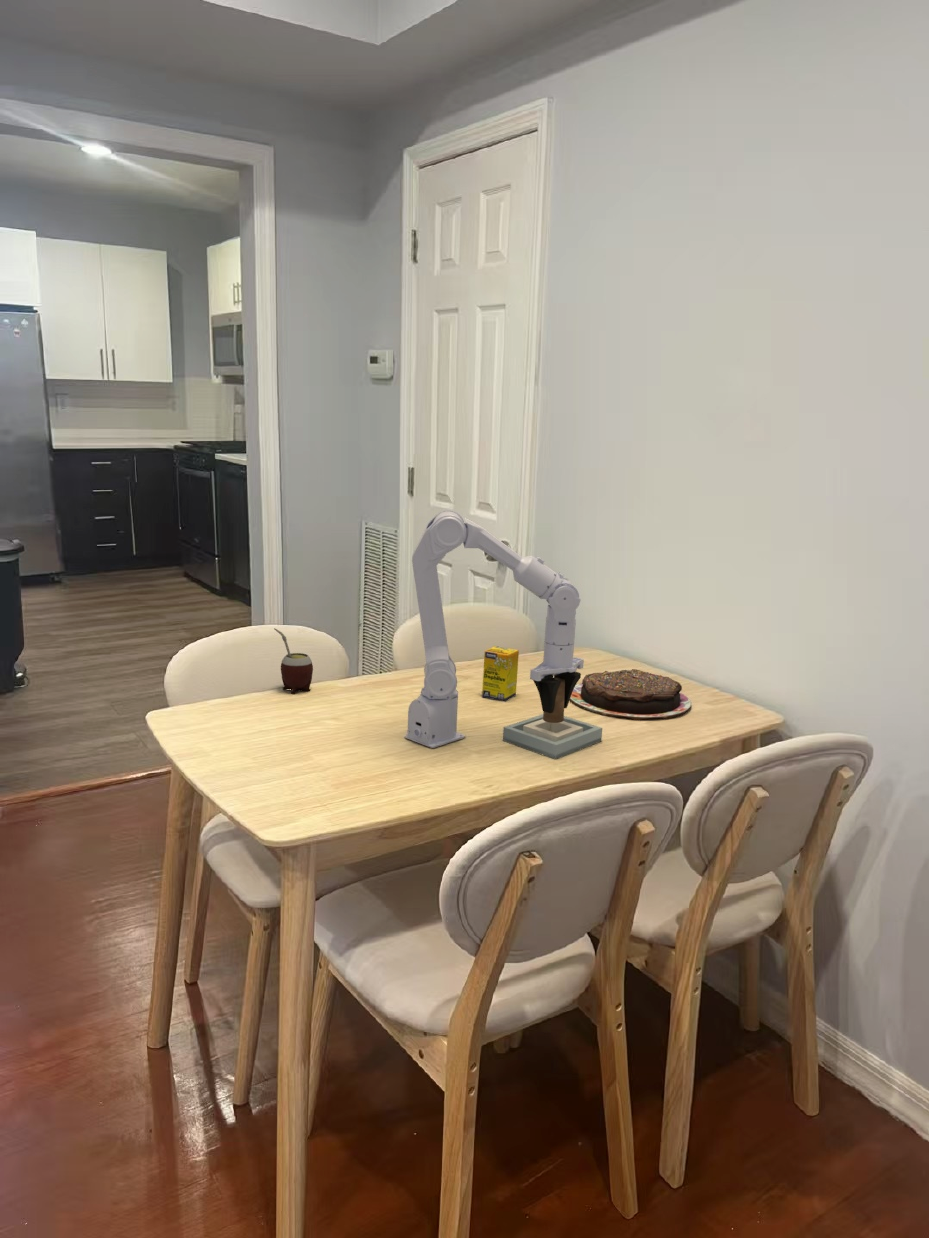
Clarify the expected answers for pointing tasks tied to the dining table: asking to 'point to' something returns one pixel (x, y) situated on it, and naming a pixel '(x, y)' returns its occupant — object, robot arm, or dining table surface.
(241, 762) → the dining table surface
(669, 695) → the chocolate cake
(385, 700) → the dining table surface
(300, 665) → the mate gourd
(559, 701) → the walnut peg
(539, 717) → the tray
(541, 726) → the socket block
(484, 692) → the supplement box
